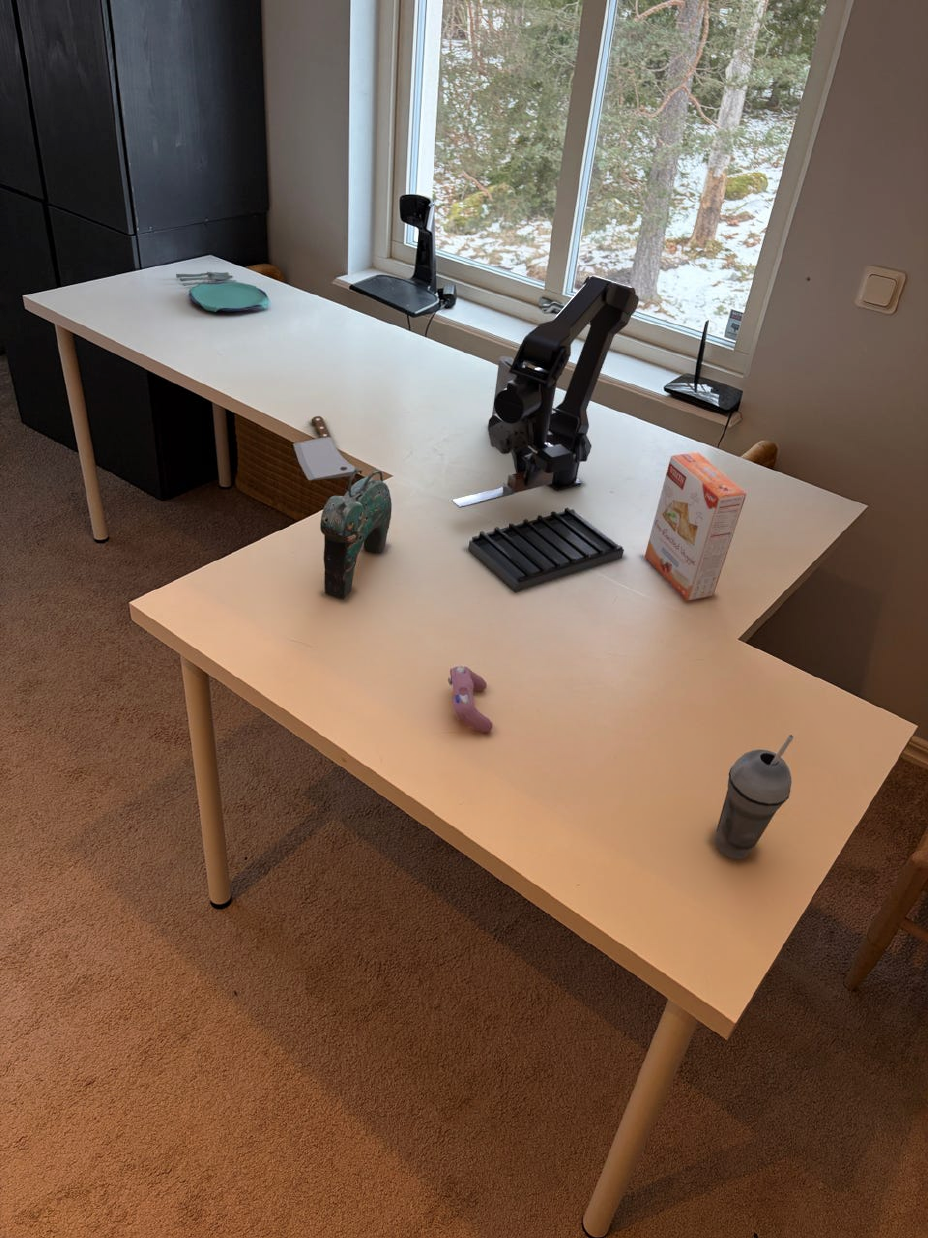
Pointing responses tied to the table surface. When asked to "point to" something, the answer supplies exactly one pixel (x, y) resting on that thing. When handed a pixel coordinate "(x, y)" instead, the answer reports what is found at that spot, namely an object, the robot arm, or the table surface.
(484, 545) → the dish rack
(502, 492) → the knife
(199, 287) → the cutlery set
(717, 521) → the cracker box
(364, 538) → the elephant figurine
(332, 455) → the kitchen cleaver
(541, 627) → the table surface
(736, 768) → the beverage cup
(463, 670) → the video game controller
